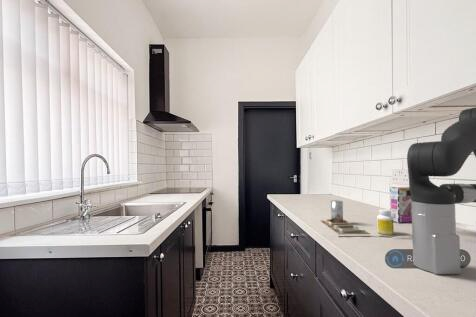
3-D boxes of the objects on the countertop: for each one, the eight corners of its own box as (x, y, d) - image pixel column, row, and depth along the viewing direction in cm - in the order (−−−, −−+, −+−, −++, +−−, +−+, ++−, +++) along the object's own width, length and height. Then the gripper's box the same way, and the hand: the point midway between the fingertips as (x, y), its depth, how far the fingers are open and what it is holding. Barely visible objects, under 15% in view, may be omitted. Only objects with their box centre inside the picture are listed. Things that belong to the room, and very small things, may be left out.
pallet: (371, 236, 96) (370, 231, 96) (339, 236, 96) (339, 231, 96) (345, 222, 120) (345, 218, 120) (319, 222, 120) (319, 218, 120)
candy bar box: (399, 223, 116) (398, 187, 117) (390, 221, 121) (389, 187, 121) (417, 221, 120) (416, 187, 120) (407, 219, 124) (406, 186, 125)
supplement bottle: (395, 238, 93) (394, 211, 94) (378, 237, 95) (378, 211, 95) (392, 234, 98) (391, 209, 99) (376, 233, 100) (375, 208, 100)
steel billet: (345, 224, 111) (344, 201, 112) (333, 224, 112) (333, 201, 112) (340, 222, 116) (340, 200, 117) (329, 222, 116) (329, 200, 117)
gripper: (441, 182, 104) (401, 183, 104) (473, 185, 90) (426, 186, 90) (442, 200, 104) (402, 201, 104) (474, 206, 90) (427, 207, 90)
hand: (413, 194), depth 97 cm, fingers open, 8 cm apart
